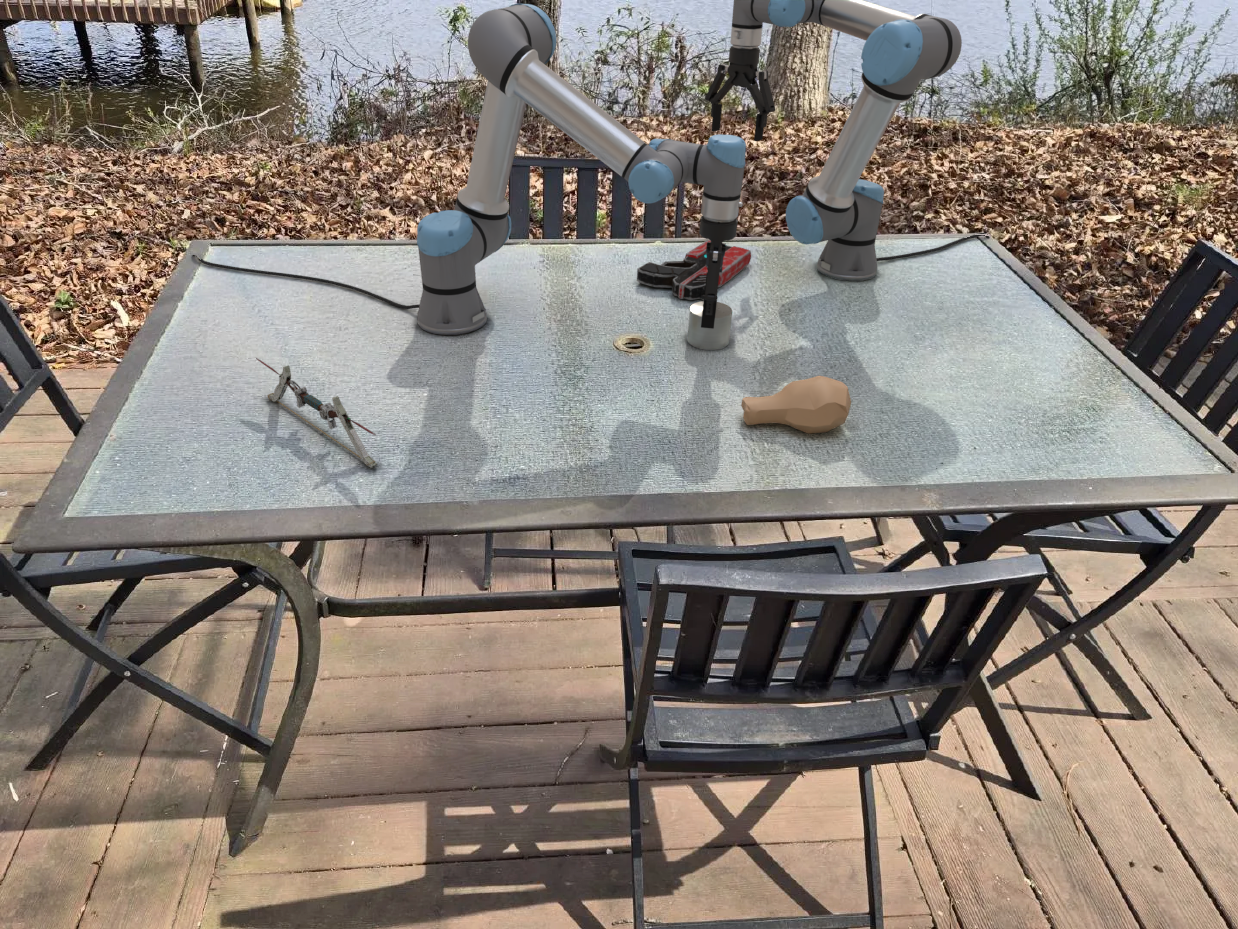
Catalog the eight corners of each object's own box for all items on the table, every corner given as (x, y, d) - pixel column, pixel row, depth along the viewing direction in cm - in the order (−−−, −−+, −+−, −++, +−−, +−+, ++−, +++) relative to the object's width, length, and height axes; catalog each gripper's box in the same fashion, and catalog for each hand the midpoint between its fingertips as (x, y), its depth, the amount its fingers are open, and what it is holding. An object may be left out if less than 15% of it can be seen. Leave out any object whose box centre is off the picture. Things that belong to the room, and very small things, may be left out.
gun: (631, 269, 213) (702, 288, 206) (689, 232, 235) (755, 248, 228) (630, 286, 216) (701, 306, 208) (688, 248, 238) (753, 264, 230)
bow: (387, 470, 147) (379, 419, 141) (378, 475, 146) (370, 423, 140) (269, 391, 168) (258, 344, 163) (260, 394, 167) (249, 347, 162)
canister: (734, 348, 189) (737, 316, 185) (693, 351, 188) (696, 319, 183) (721, 330, 197) (724, 299, 192) (682, 333, 195) (684, 302, 191)
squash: (855, 440, 159) (859, 402, 153) (745, 448, 161) (744, 411, 155) (845, 401, 167) (848, 364, 161) (739, 410, 169) (739, 373, 163)
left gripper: (737, 239, 166) (724, 340, 178) (738, 199, 187) (727, 292, 199) (697, 236, 167) (687, 337, 179) (703, 196, 187) (694, 289, 199)
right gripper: (696, 41, 221) (690, 128, 233) (778, 54, 208) (768, 146, 220) (714, 38, 226) (707, 124, 238) (796, 51, 212) (784, 141, 224)
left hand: (708, 314), depth 189 cm, fingers open, 13 cm apart
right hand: (736, 135), depth 229 cm, fingers open, 13 cm apart
